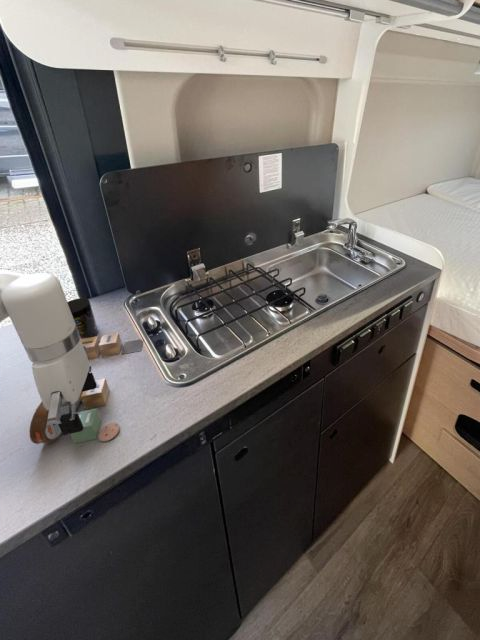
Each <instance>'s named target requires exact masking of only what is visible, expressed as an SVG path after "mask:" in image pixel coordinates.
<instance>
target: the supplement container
mask: <svg viewBox="0 0 480 640" xmlns="http://www.w3.org/2000/svg"><path fill="white" fill-rule="evenodd" d="M67 303H68V305H69V308H70V311H71V313H72V316H73V319H74V322H75V324H76V327H77V330H78V332H79V335H80V338H81V339H84V338H90V337H96V336H97V335H98V332H99V328H98V324H97V321H96V318H95V314H94V312H93V308H92V305H91V301H90V300H89V299H88V298H86V297H85V298H84V297H81V298H80V297H79V298H74V299H71V300H69V301H67Z"/></svg>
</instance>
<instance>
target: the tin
mask: <svg viewBox="0 0 480 640" xmlns="http://www.w3.org/2000/svg"><path fill="white" fill-rule="evenodd" d="M81 394H82V392H81ZM81 394H80V396H79V399H78V400H77V401H76V403H75V412H76V411H77V410H78V408H79V406H80V405H81V403H82V402H83V401H82V399H81ZM62 402H67V401H66V400H65V399H64V398H62ZM68 413H69V405H67V406H63V407H61V414H62V415H64V414H68ZM48 414H49V410H46V408H45V407H44V405H43V402H42V401H41V402H40V403H39V405H38V406H37V408H36V409H35V412H34V413H33V414H32V415H33V416H32V418H31V421H30V426H29V439H30V441H31V442H32V443H33V444H35V445H38V444H50V443H53V442H54V441H56V440H57V439H58V438H60V436H61V435H62V432H61V429H60V427H59V425H58V424H56V425H53V424H52V423H49V422H48Z"/></svg>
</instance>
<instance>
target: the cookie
mask: <svg viewBox="0 0 480 640" xmlns="http://www.w3.org/2000/svg"><path fill="white" fill-rule="evenodd" d="M119 431H120V425H119V424H118V423H117V422H108V423H107V424H105V425H103V426H102V427H100V428H99V432H98V436H97V439H98V440H99V441H100V442H108V441H111V440H112V439H114V438H115V437H116V436H117V435H118V433H119Z"/></svg>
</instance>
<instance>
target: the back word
mask: <svg viewBox="0 0 480 640" xmlns="http://www.w3.org/2000/svg"><path fill="white" fill-rule="evenodd" d="M141 339H142V338H139V339H135V340H128V341H124V343H122V339H121V336H120V332H114V333H108V334H103V335H101V338H99V336H98V335H96V336H95V337H90V338H84V339H81V343H82V345H83V346H86V352H87V356H88V357H89V360H95V359H98V358H99V356H100V355H101V357H102V358H105V357H110V356H115V355H120V352H121V355H126V354H127V355H128V354H132V353H137V352H142V348H143V343H144V340H143V341H142V340H141ZM122 345H123V347H122ZM121 349H122V351H121Z"/></svg>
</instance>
